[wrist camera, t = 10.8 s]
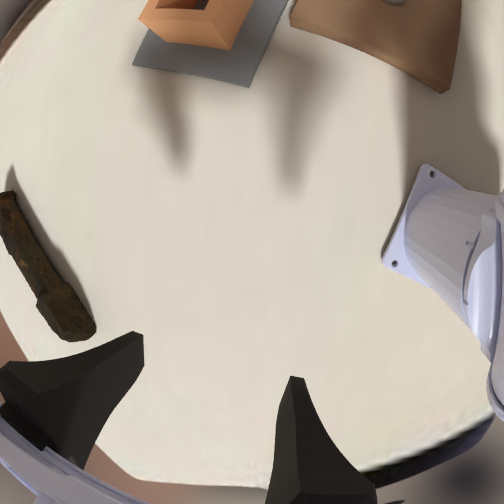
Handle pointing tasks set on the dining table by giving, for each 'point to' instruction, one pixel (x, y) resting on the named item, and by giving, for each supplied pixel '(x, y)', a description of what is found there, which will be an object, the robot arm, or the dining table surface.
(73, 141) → the dining table surface
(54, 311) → the hand tool
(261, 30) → the pad
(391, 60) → the post block
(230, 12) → the hollow square tube
